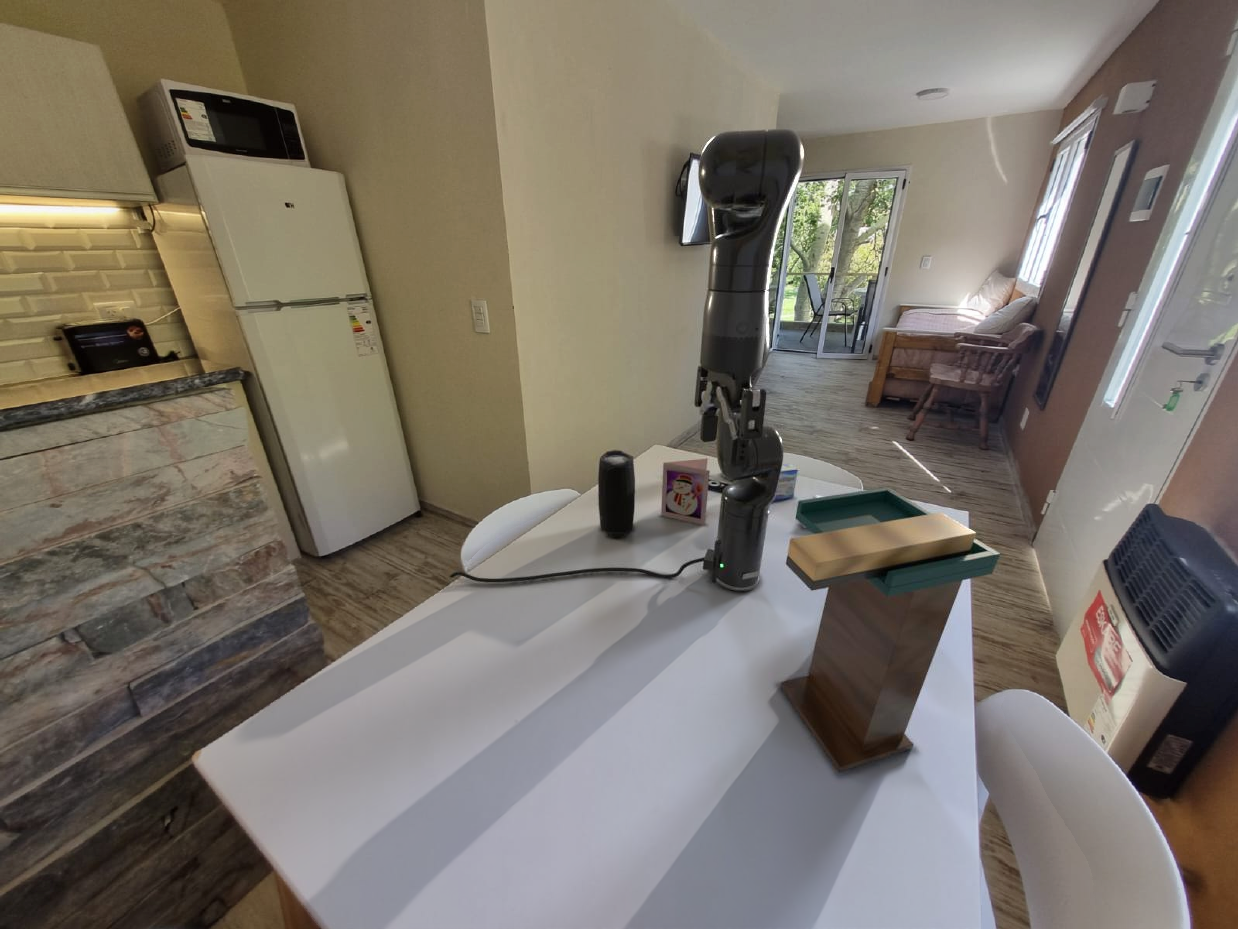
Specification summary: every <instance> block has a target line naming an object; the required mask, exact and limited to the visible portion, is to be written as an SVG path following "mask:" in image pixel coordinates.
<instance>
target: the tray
mask: <svg viewBox="0 0 1238 929" xmlns="http://www.w3.org/2000/svg"><path fill="white" fill-rule="evenodd" d="M928 514H933V513H932V512H930V511H929V510H927V509H925V508H924V507H922V506H920V505H919V504H918V503H916V502H913V501H912V500H910V499H908V498H907V497H906V496H903V495H902V494H900V493H898V492H897V491H895V490H893V489H891V488H890V487H888V486H886V487H880V488H872V489H866V490H859V491H854V492H853V491H852V492H846V493H840V494H833V495H828V496H822V497H819V498H814V497H813V498H807V499H801V500H800V499H799V500H798V502H797V508H796V514H795V519H796V521H798V522H799V523H800V524H801V523H802V524H803V525H804V526H805V527H806V528H805V529H807V530H809V531H810V532H811V533H812V534H818V533H824V532H830V531H836V530H841V529H847V528H853V527H859V526H864V525H870V524H876V523H882V522H888V521H893V520H899V519H905V518H911V517H916V516H922V515H928ZM803 525H802V526H803ZM1000 556H1001V553H1000V552H998V551H996V549H993V548H992V547H990V546H988V545H987V544H985V543H983V542H982V541H979V540H978V539H976V538H975V539H974V542H973V544H972V547H971V549H970V552H969V555H966V556H961V557H956V558H952V559H947V560H942V561H937V562H932V563H927V564H922V565H917V566H912V567H907V568H902V569H898V570H893V571H888V573H887V575H886V576H881V577H876V578H871V579H867V580H868V581H869V582H871V583H872V584H873V585H874V586H875V587H877V588H878V589H879V590H880V591H881V592H882V593H884V594H885V595H886V596H887V597H888V596H893V595H898V594H902V593H907V592H911V591H916V590H920V589H925V588H929V587H934V586H939V585H943V584H948V583H952V582H957V581H961V580H963V581H965V580H969V579H975V578H979V577H980V578H981V577H984V576H989V575H993V573H994V570H995V568H996V565H997V563H998V561H999V558H1000Z"/></svg>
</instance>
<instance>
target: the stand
mask: <svg viewBox="0 0 1238 929" xmlns="http://www.w3.org/2000/svg"><path fill="white" fill-rule="evenodd" d="M963 581H964V580H961V581H957V582H952V583H948V584H943V585H939V586H934V587H929V588H925V589H920V590H916V591H911V592H907V593H902V594H898V595H893V596H888V597H887V596H886V595H885V594H884V593H882V592H881V591H880V590H879V589H878V588H877V587H875V586H874V585H873V584H872V583H871V582H869V581H868V580H867V579H866V580H862V581H857V582H852V583H847V584H842V585H837V586H833V587H828V588H827V592H826V596H825V600H824V606H823V609H822V612H821V617H820V622H819V626H818V630H817V634H816V639H815V642H814V648H813V651H812V656H811V661H810V665H809V668H808V673H807V675H804V676H800V677H796V678H793V679H788V680H784V681H781V682H780V683H779V688H780V689H781V691H782V692H783V694H784V695H785V697H786V698H787V700H788V701H789V703H790V704H791V705H792V707H793V708H794V709H795V711H796V712H797V714H798V715H799V717H800V718H801V720H802V721H803V723H804V724H805V725H806V727H807V728H808V730H809V732H810V733H811V734H812V736H813V737H814V738H815V740H816V742H817V743H818V744H819V746H820V748H821V749H822V750H823V752H824V753H825V755H827V757H828V759H829V760H830V762H831V764H832V765H833V766H834V767H835V769H836V770H837V772H838V773H840V772H844V771H847V770H850V769H854V768H856V767H859V766H863V765H866V764H870V763H872V762H875V761H878V760H880V759H885V758H887V757H891V756H894V755H897V754H901V753H904V752H906V751H910V750H912V749H913V747H914V746H915V745H914V743H913V741H912V740H911V739H910V738H909V737H908V736H907V734H906V731H907V728H908V726H909V723H910V721H911V717H912V716H913V712H914V710H915V707H916V705H917V701H918V699H919V697H920V694H921V691H922V688H923V686H924V684H925V680H926V679H927V675H928V673H929V670H930V668H931V665H932V663H933V659H934V658H935V657H934V656H935V654H936V651H937V649H938V647H939V643H940V641H941V638H942V636H943V633H944V630H945V628H946V625H947V622H948V620H949V617H950V615H951V612H952V609H953V607H954V604H955V601H956V599H957V596H958V594H959V591H960V589H961V586H962V583H963Z"/></svg>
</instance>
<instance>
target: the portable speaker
mask: <svg viewBox="0 0 1238 929" xmlns="http://www.w3.org/2000/svg"><path fill="white" fill-rule="evenodd" d="M598 461H599V462H598V475H597V483H598V484H597V485H598V486H597V487H598V488H597V489H598V490H597V491H598V495H597V496H598V499H597V500H598V514H599V515H598V516H599V525H600V529H601V530H602V531H603V532H604V533H605V534H606V535H607V537H609V538H613V539H620V538H624V537H625V536H626V535H627V534H628V533H629V532H630V531H631V530H633V526H634V519H635V518H634V517H635V508H636V507H635V506H636V503H635V502H636V500H635V499H636V475H635V463H634V462H635V460H634V456H633V455H631V454H628V453H626V452H625V451H623V450H620V449H613V450H609V451H605V453H603V454H602V455H601V456H600V457H599V460H598Z"/></svg>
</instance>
